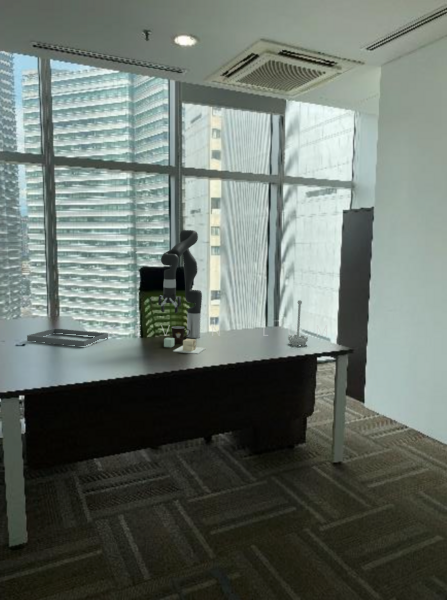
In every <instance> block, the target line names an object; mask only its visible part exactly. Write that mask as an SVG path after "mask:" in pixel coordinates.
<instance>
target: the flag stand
mask: <svg viewBox="0 0 447 600" xmlns="http://www.w3.org/2000/svg"><path fill="white" fill-rule="evenodd" d="M297 304H298V306H297V307H298V308H297V324H296V325H297V326H296V329H297V330H296V334H294V335H292V334H289V335H288V337H287V339H288V341H289V343H290V344H292V345H291V346H294V345H305V344H306V345H307V342H308V340H309V337H308V336H307V335H306V336H305V335H303V334H301V335H300V328H301V327H300V325H301V308H302V306H301V305H302V304H303V301H302V300H300V299H299V300H297ZM290 344H289V345H290ZM306 345H305V346H306Z"/></svg>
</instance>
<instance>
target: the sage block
mask: <svg viewBox="0 0 447 600" xmlns="http://www.w3.org/2000/svg"><path fill="white" fill-rule="evenodd" d="M174 339H175V338H173V337H165V338H164V339H163V347H164V348H173V347H174V346H175V343H174Z"/></svg>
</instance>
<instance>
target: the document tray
mask: <svg viewBox="0 0 447 600" xmlns="http://www.w3.org/2000/svg"><path fill="white" fill-rule="evenodd" d="M53 333H63V334H76V335H88V336H95V337H94V338H87V339H85V340H79V339H71V338H59V337H52V336H47V337H43V336H46V335H49V334H53ZM26 338H27V339H26V341H36V342H45V343H55V344H64V345H75V346H86V345H88V344H91V343H93V342H95V341H97V340H99V339H105V338H107V339H108V340H109V333H107V332H96V331H95V332H94V331H88V330H87V331H86V330H77V329H68V328H66V329H65V328H56V327H54V328H51V329H46V330H44V331H43V330H42V331H39V332H36V333H31V334H27V335H26ZM36 342H35V343H36ZM45 343H44V344H45Z"/></svg>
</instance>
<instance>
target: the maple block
mask: <svg viewBox="0 0 447 600" xmlns="http://www.w3.org/2000/svg"><path fill="white" fill-rule="evenodd" d="M196 341H197V339H196V338H186V339H185V338H184V339H183V342H182V346H183V350H185V351H193V350H195V349H196V347H197V346H196V345H197V344H196V343H197V342H196Z"/></svg>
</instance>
